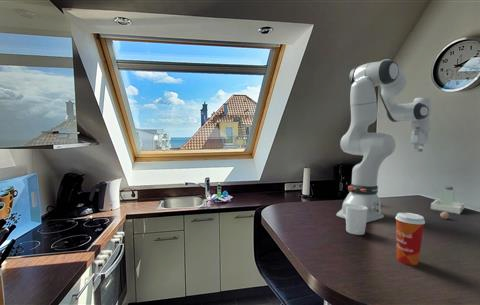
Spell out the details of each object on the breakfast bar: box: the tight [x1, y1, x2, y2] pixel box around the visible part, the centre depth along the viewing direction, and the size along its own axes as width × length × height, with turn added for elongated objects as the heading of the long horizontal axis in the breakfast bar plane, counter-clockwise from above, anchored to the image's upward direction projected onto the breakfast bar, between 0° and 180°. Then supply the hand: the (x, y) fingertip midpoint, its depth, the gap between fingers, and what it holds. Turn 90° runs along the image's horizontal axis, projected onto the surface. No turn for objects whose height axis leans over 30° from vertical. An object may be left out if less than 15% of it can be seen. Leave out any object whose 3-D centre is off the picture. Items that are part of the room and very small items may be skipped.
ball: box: [440, 211, 450, 220], centre depth 126 cm, size 3×3×3 cm
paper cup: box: [395, 212, 426, 266], centre depth 82 cm, size 8×8×14 cm
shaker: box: [441, 185, 456, 207], centre depth 142 cm, size 4×4×11 cm
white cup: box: [345, 204, 368, 236], centre depth 106 cm, size 8×8×10 cm
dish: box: [430, 198, 465, 215], centre depth 143 cm, size 14×12×3 cm
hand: (418, 151), depth 153 cm, fingers open, 8 cm apart
